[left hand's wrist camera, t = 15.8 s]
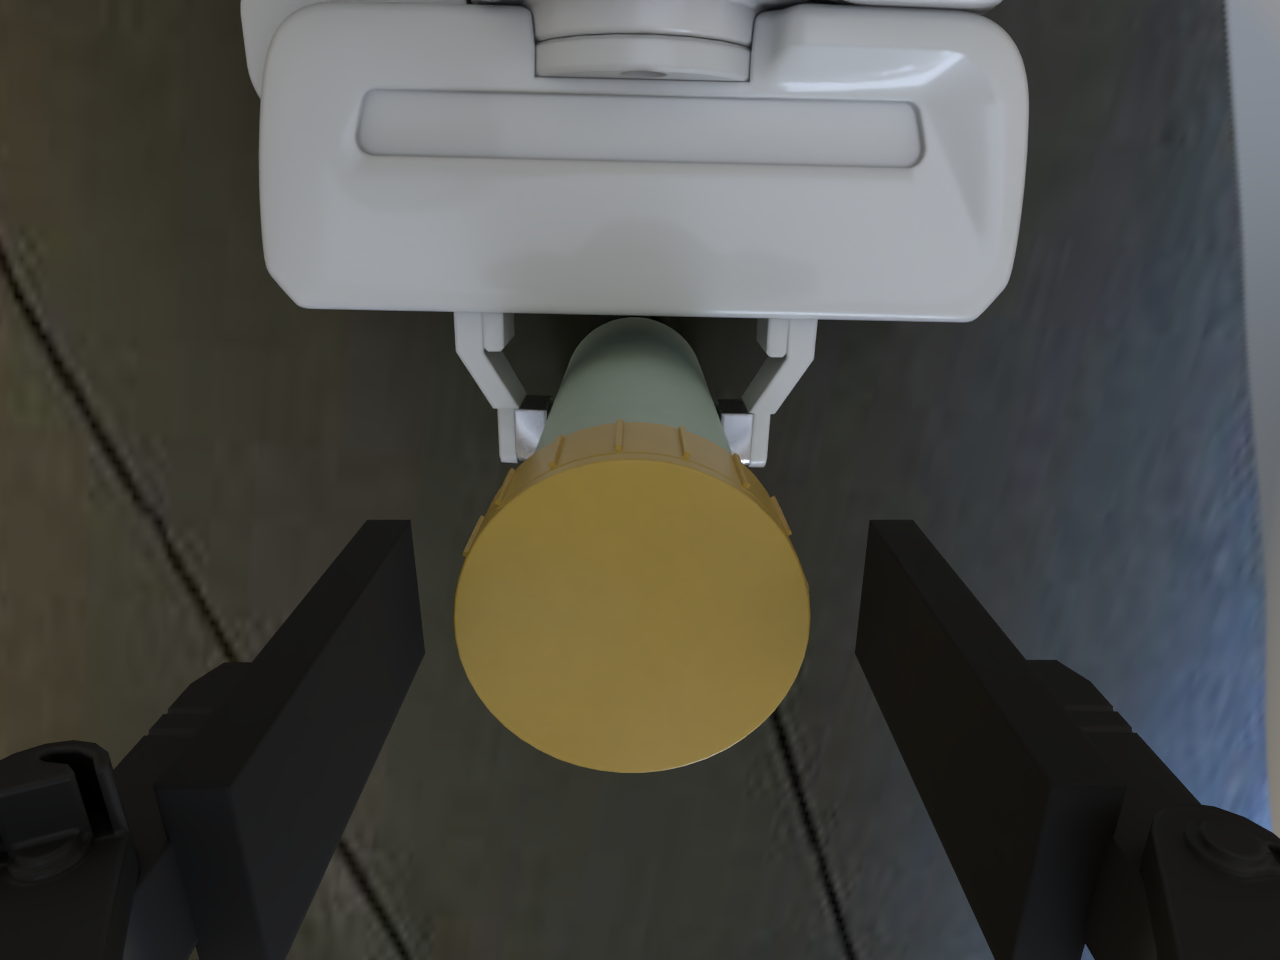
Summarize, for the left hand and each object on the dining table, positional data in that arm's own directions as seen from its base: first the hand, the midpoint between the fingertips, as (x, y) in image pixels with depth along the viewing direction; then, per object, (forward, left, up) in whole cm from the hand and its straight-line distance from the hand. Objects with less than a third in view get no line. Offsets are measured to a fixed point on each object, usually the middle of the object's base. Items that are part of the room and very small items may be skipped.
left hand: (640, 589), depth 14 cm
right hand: (-1, -1, -11) cm, 11 cm away
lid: (0, 0, +1) cm, 1 cm away
